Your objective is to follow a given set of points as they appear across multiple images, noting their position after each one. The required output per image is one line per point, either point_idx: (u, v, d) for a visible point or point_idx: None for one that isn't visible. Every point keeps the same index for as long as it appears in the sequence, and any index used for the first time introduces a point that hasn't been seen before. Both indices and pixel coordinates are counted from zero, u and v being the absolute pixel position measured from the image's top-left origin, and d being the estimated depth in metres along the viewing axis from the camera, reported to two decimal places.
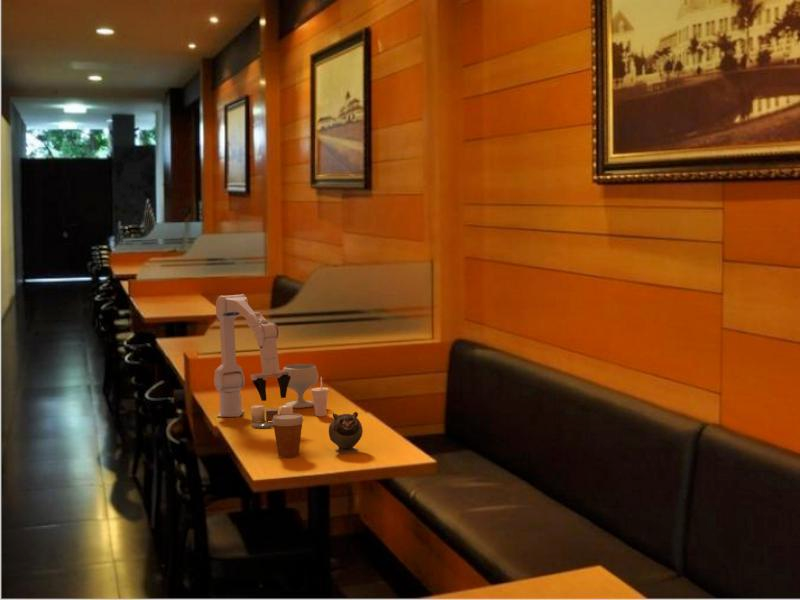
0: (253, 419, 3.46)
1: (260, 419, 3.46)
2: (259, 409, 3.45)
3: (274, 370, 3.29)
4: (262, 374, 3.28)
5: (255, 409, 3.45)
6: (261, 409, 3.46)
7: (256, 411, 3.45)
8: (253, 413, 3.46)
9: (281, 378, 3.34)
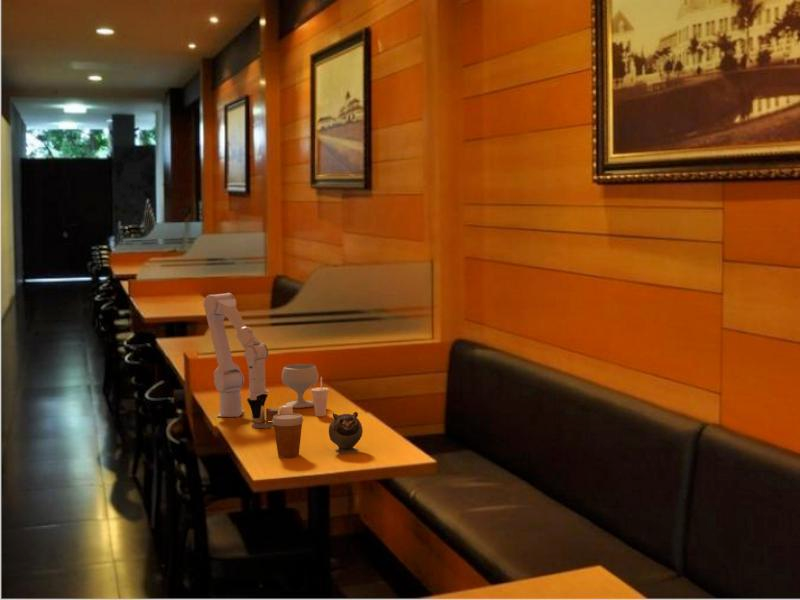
0: (253, 419, 3.46)
1: (260, 419, 3.46)
2: None
3: (265, 389, 3.46)
4: (259, 394, 3.42)
5: None
6: (261, 409, 3.46)
7: None
8: None
9: (259, 396, 3.49)
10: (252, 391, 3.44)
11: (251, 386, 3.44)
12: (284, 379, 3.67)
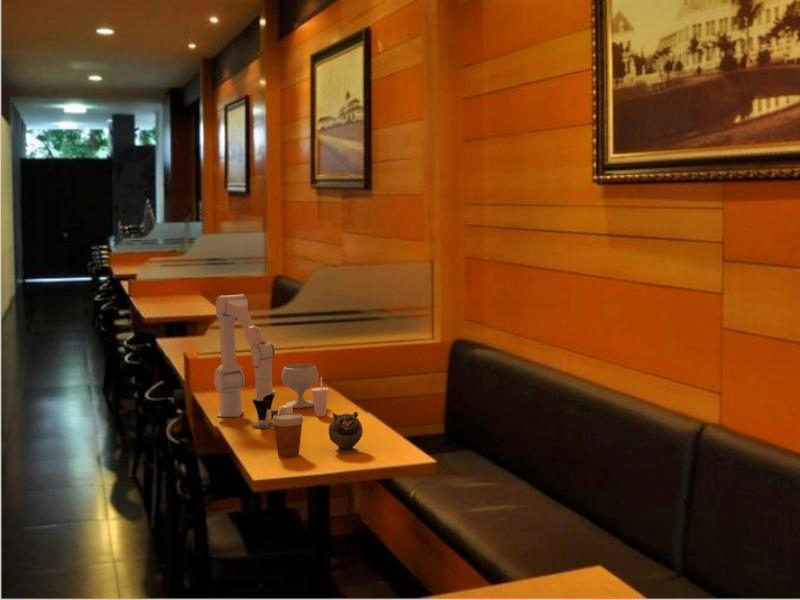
0: (260, 423, 3.37)
1: (267, 423, 3.37)
2: None
3: (271, 389, 3.37)
4: (266, 394, 3.34)
5: None
6: (268, 413, 3.37)
7: None
8: None
9: (266, 396, 3.42)
10: (258, 391, 3.35)
11: (257, 386, 3.35)
12: (284, 379, 3.67)
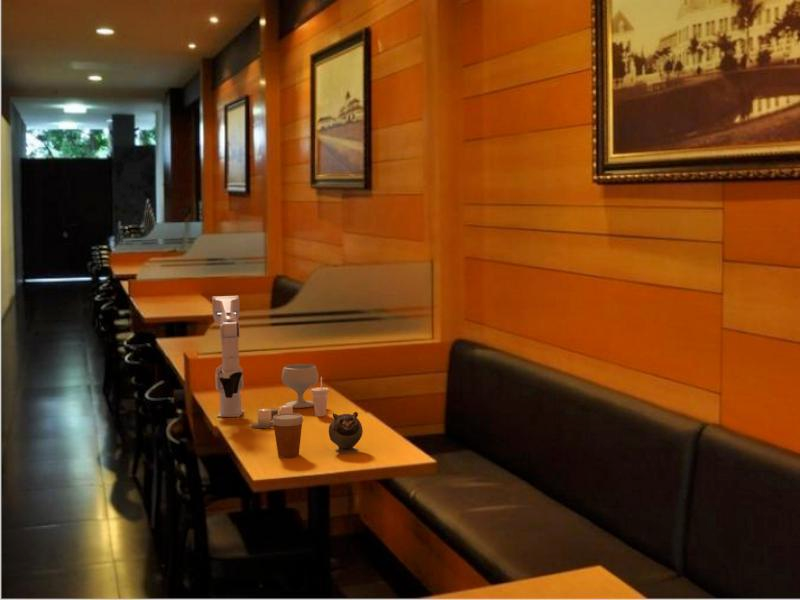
0: (260, 423, 3.37)
1: (267, 423, 3.37)
2: (266, 413, 3.36)
3: (238, 368, 3.41)
4: (232, 372, 3.37)
5: (262, 413, 3.36)
6: (268, 413, 3.37)
7: (263, 415, 3.36)
8: (260, 417, 3.37)
9: (234, 374, 3.45)
10: (225, 369, 3.39)
11: (224, 364, 3.39)
12: (284, 379, 3.67)
